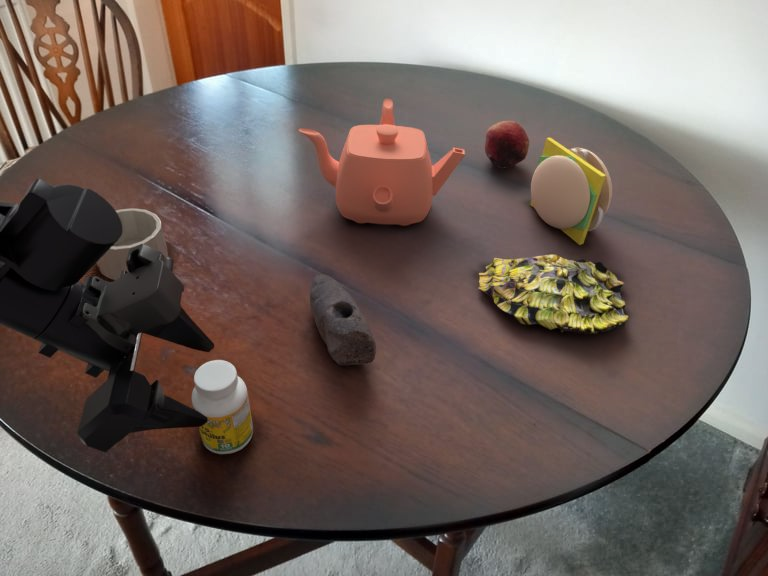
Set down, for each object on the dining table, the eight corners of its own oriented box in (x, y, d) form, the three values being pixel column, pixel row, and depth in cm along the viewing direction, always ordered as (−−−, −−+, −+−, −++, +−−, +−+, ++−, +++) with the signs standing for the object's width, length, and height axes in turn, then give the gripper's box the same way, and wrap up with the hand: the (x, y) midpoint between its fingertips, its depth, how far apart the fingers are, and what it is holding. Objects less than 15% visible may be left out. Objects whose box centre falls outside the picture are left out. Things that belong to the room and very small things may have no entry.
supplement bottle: (263, 427, 66) (255, 368, 60) (230, 465, 63) (218, 406, 56) (224, 406, 68) (212, 346, 62) (190, 441, 65) (174, 382, 58)
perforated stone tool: (299, 302, 81) (297, 260, 77) (337, 293, 83) (337, 252, 78) (336, 385, 71) (335, 343, 67) (378, 373, 73) (381, 332, 68)
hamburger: (609, 235, 96) (633, 167, 88) (568, 248, 93) (589, 179, 85) (558, 196, 104) (576, 130, 96) (519, 207, 101) (534, 141, 93)
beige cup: (95, 285, 82) (84, 252, 78) (101, 243, 89) (91, 211, 85) (167, 276, 84) (160, 244, 80) (168, 236, 90) (161, 205, 87)
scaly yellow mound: (465, 324, 81) (467, 278, 78) (486, 277, 95) (488, 237, 92) (628, 345, 75) (636, 296, 72) (624, 292, 89) (631, 249, 87)
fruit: (523, 156, 114) (532, 116, 108) (526, 178, 108) (535, 136, 103) (480, 152, 114) (487, 112, 109) (481, 174, 108) (489, 132, 103)
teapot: (301, 203, 99) (297, 123, 90) (384, 166, 109) (388, 90, 100) (379, 258, 89) (384, 174, 80) (462, 211, 99) (475, 132, 90)
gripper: (80, 335, 41) (262, 421, 50) (127, 185, 55) (263, 273, 64) (-3, 418, 45) (179, 484, 54) (60, 259, 59) (197, 332, 68)
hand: (208, 383), depth 60 cm, fingers open, 9 cm apart
